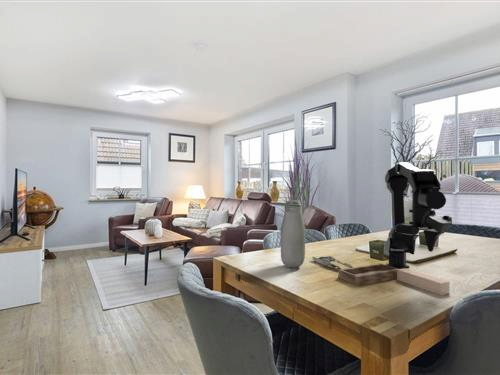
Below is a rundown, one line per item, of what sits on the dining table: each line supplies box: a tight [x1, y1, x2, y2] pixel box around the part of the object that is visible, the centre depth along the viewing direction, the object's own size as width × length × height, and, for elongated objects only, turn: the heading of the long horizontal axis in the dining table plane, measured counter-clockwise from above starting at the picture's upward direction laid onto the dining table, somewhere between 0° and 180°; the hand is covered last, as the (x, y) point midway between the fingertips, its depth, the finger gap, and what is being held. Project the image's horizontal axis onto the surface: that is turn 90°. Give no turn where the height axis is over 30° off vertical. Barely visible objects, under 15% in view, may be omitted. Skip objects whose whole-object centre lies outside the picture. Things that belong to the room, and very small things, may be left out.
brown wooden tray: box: [337, 262, 398, 287], centre depth 109 cm, size 21×10×3 cm, turn 114°
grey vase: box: [280, 199, 306, 269], centre depth 123 cm, size 10×10×28 cm
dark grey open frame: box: [311, 256, 354, 271], centre depth 125 cm, size 22×3×10 cm
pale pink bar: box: [396, 268, 450, 296], centre depth 100 cm, size 16×4×4 cm, turn 23°
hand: (421, 252), depth 100 cm, fingers open, 9 cm apart
